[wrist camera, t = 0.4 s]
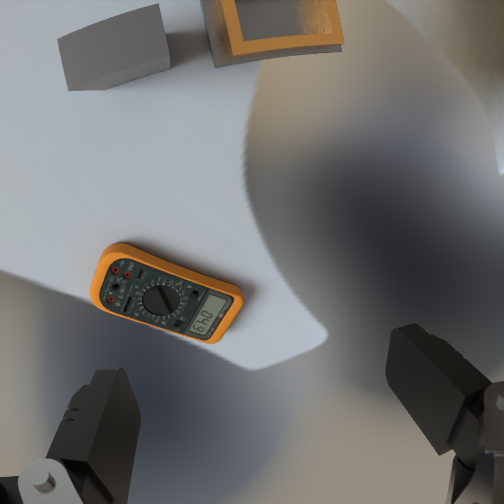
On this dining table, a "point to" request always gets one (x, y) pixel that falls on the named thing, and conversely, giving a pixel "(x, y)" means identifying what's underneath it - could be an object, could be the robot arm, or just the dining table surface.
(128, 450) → the robot arm
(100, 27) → the grey rectangular block
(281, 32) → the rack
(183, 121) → the dining table surface
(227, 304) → the multimeter
